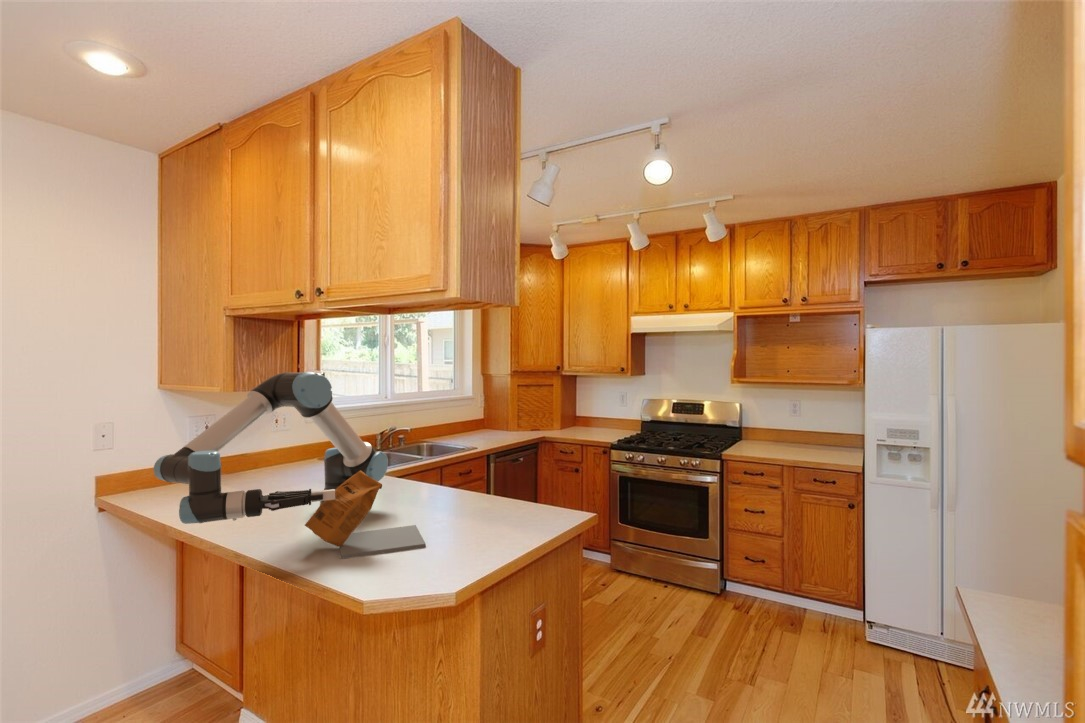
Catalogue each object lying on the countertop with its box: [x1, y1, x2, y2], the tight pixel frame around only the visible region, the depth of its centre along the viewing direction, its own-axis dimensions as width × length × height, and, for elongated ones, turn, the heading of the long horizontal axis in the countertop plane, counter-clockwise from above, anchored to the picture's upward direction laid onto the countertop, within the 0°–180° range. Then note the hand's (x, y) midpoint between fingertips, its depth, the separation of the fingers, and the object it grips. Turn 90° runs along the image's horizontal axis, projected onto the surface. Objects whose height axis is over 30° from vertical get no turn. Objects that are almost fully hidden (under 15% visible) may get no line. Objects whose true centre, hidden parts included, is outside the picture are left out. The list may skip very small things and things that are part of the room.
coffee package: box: [304, 470, 383, 548], centre depth 159 cm, size 10×12×22 cm
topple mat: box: [339, 524, 427, 559], centre depth 161 cm, size 20×24×1 cm
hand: (334, 494), depth 156 cm, fingers closed
